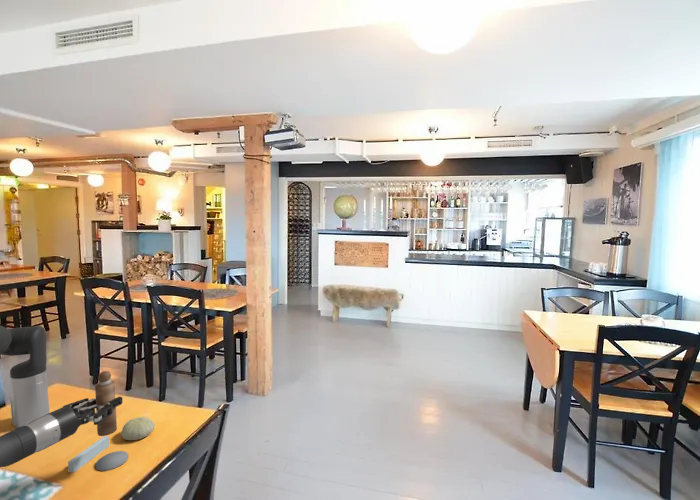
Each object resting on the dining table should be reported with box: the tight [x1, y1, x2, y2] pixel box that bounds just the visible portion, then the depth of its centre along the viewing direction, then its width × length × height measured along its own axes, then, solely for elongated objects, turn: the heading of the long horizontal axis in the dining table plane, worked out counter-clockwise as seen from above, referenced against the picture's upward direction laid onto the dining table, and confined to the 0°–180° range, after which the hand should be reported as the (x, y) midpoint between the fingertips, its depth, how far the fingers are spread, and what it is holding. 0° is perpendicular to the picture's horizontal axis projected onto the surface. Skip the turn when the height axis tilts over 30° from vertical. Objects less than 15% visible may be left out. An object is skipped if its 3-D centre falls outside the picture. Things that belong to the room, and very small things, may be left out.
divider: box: [67, 435, 110, 474], centre depth 106 cm, size 2×12×3 cm, turn 170°
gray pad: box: [95, 450, 129, 472], centre depth 105 cm, size 8×8×1 cm
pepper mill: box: [94, 370, 118, 437], centre depth 102 cm, size 5×5×18 cm
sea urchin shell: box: [121, 416, 155, 441], centre depth 118 cm, size 9×8×8 cm
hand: (114, 398), depth 105 cm, fingers closed on pepper mill, 4 cm apart
